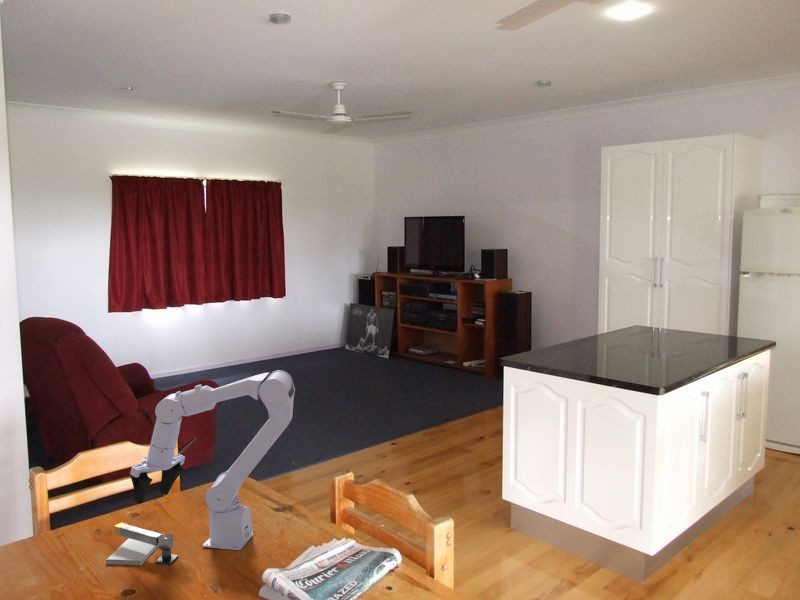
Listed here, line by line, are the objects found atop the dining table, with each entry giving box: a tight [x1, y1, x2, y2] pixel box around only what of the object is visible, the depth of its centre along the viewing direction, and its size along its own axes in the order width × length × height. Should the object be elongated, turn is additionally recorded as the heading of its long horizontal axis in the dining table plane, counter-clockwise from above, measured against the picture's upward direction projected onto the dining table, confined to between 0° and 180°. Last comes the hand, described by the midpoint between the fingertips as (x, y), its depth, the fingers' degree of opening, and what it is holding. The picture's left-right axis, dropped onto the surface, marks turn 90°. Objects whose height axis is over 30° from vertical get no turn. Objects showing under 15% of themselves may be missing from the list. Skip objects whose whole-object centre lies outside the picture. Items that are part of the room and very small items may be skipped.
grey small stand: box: [154, 548, 179, 566], centre depth 146 cm, size 4×4×3 cm
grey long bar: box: [113, 522, 175, 551], centre depth 149 cm, size 17×3×2 cm, turn 64°
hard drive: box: [105, 538, 159, 566], centre depth 151 cm, size 2×8×12 cm
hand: (151, 497), depth 154 cm, fingers open, 7 cm apart
